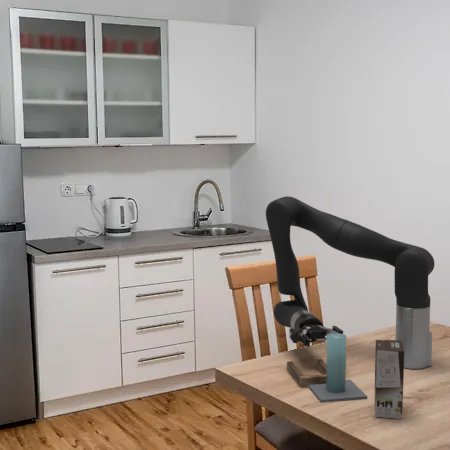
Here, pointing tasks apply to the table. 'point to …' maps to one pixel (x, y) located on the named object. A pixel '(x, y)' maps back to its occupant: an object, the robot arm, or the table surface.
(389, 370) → the coffee box
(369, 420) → the table surface
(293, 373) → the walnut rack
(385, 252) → the robot arm
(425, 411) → the table surface
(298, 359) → the table surface
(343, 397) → the felt pad
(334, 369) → the canister
